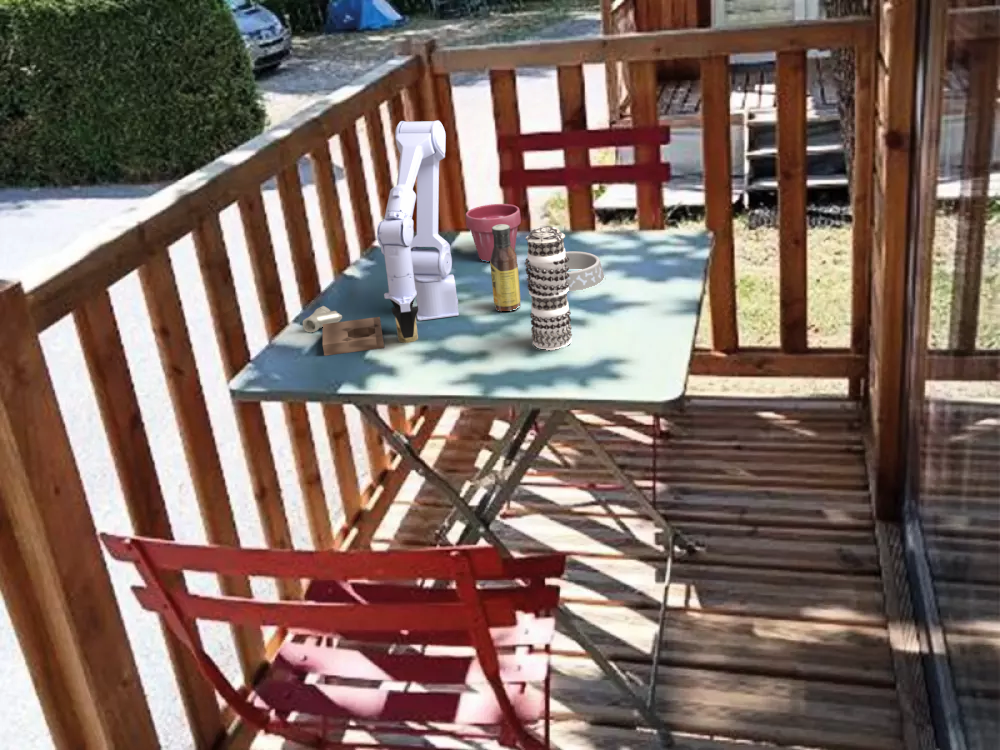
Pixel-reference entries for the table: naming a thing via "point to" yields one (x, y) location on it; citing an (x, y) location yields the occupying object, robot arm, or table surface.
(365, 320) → the walnut jig plate
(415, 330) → the brass bushing
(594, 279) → the dog bowl
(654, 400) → the table surface
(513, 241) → the plant pot
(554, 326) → the decorative candle
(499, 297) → the sauce bottle
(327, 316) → the pipe fitting
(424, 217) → the robot arm
